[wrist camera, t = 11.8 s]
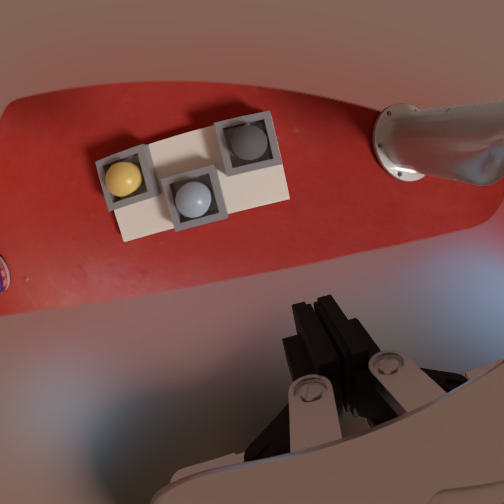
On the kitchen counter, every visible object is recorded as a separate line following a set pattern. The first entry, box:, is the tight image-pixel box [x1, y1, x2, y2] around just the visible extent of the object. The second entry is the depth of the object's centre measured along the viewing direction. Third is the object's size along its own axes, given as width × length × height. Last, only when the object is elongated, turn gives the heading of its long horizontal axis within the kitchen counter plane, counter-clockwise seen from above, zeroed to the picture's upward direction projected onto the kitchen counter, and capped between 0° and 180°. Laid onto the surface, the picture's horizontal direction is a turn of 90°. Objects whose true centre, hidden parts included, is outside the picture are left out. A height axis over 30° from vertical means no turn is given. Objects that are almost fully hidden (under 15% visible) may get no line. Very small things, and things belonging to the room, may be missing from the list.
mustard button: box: [105, 161, 144, 196], centre depth 34 cm, size 4×4×4 cm
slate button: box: [175, 180, 212, 218], centre depth 36 cm, size 4×4×4 cm
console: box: [95, 111, 290, 242], centre depth 37 cm, size 24×12×5 cm, turn 103°
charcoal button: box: [231, 125, 267, 160], centre depth 34 cm, size 4×4×4 cm
